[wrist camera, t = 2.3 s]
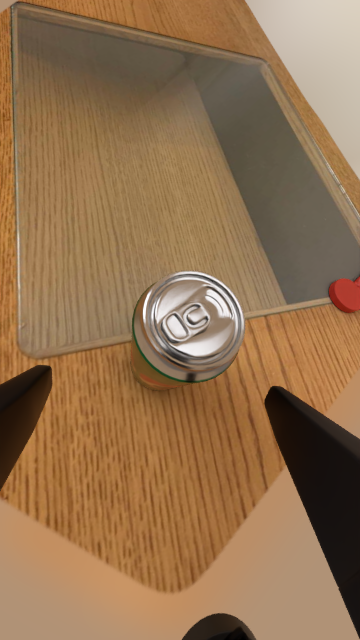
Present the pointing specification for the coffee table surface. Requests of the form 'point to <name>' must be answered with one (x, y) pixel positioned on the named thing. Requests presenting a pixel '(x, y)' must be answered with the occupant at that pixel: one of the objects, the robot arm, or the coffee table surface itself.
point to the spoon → (346, 294)
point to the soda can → (185, 330)
